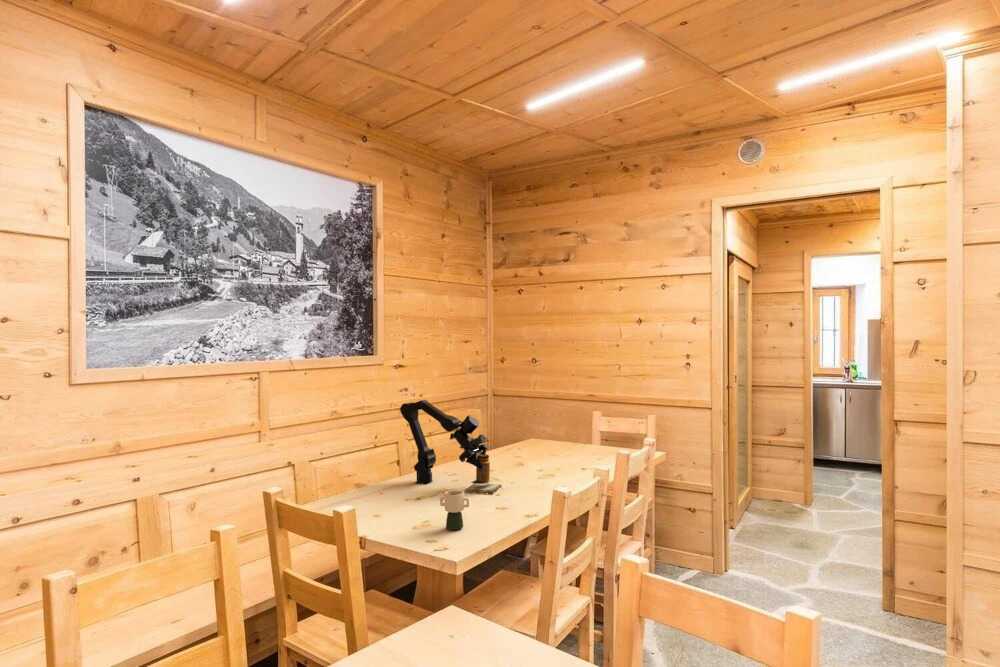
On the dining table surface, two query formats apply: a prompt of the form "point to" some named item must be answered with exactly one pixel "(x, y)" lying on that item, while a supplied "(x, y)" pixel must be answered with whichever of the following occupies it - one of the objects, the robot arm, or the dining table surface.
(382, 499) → the dining table surface
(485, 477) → the condiment
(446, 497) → the character mug
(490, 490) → the plinth
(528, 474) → the dining table surface
